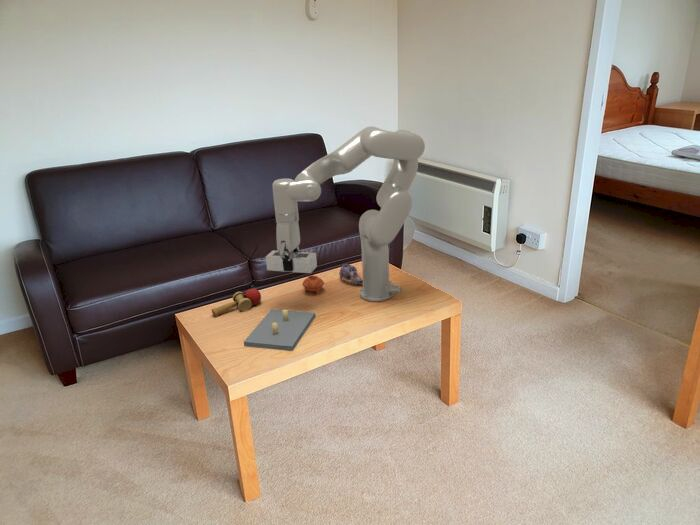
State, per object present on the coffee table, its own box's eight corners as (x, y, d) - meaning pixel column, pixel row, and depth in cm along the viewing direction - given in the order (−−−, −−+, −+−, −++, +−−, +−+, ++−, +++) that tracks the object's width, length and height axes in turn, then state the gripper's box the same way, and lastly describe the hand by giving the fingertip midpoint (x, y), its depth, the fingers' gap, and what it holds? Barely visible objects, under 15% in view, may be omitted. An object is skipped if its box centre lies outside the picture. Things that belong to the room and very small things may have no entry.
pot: (308, 284, 200) (311, 269, 197) (325, 292, 197) (328, 277, 194) (297, 292, 194) (299, 276, 191) (314, 300, 191) (317, 284, 188)
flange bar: (317, 266, 178) (315, 252, 176) (311, 273, 173) (310, 259, 171) (274, 263, 183) (272, 250, 181) (267, 270, 177) (265, 256, 175)
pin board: (315, 316, 176) (314, 303, 174) (292, 350, 157) (291, 336, 155) (271, 313, 180) (270, 300, 178) (244, 345, 161) (242, 331, 159)
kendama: (220, 324, 177) (266, 303, 185) (214, 308, 176) (261, 287, 184) (213, 320, 184) (258, 299, 192) (207, 304, 182) (253, 283, 190)
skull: (367, 285, 198) (367, 270, 195) (349, 289, 195) (348, 275, 193) (354, 274, 208) (353, 260, 206) (336, 278, 205) (335, 264, 203)
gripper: (286, 209, 179) (291, 257, 186) (265, 224, 164) (271, 276, 171) (306, 209, 177) (310, 258, 184) (287, 225, 162) (293, 278, 169)
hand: (292, 266), depth 178 cm, fingers closed on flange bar, 6 cm apart
